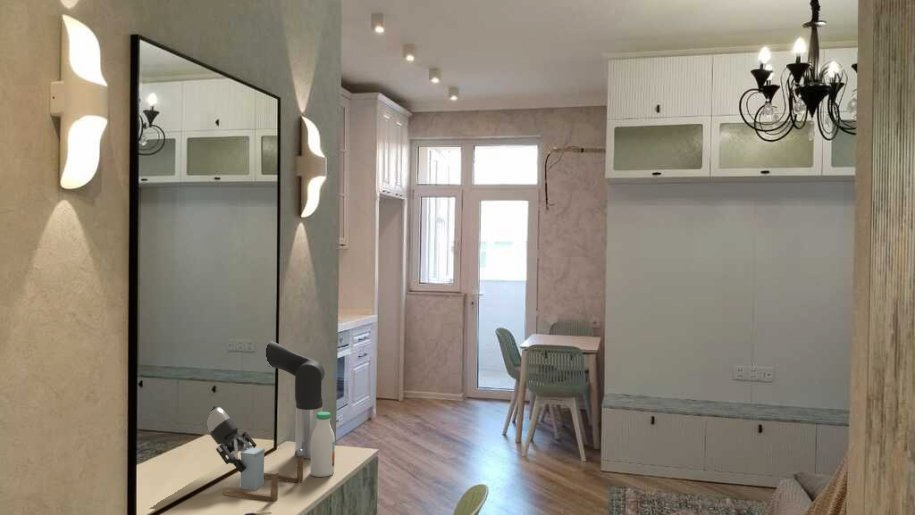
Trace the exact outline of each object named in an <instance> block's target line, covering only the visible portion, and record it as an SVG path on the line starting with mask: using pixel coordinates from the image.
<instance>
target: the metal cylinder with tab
mask: <svg viewBox="0 0 915 515" xmlns="http://www.w3.org/2000/svg"><path fill="white" fill-rule="evenodd" d="M305 453H306V450H305V448H304V441H303V442H302V448H300V449H298V450H297V451H295V450H294V456H295V458H296V459H297V458H300V457H302V456H303V455H305Z"/></svg>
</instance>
